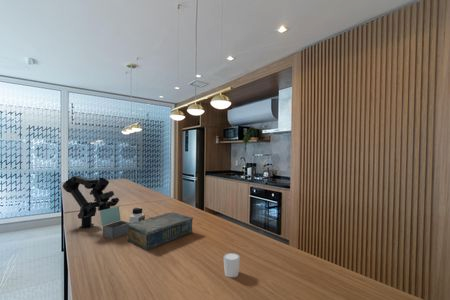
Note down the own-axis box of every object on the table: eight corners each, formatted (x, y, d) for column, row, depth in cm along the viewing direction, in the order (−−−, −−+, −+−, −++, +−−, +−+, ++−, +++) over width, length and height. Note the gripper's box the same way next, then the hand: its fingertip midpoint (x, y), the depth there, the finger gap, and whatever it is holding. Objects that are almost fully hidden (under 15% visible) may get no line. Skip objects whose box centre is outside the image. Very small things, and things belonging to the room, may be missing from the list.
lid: (102, 225, 128) (101, 225, 128) (120, 220, 139) (119, 220, 139) (100, 210, 129) (99, 210, 129) (118, 206, 140) (117, 206, 140)
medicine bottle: (138, 228, 143) (139, 209, 143) (129, 227, 144) (129, 209, 144) (144, 224, 150) (145, 207, 150) (135, 223, 151) (135, 206, 151)
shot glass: (222, 269, 92) (222, 252, 92) (238, 268, 93) (238, 252, 93) (224, 278, 86) (224, 260, 86) (241, 277, 86) (241, 260, 86)
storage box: (102, 236, 128) (103, 226, 128) (120, 230, 138) (120, 220, 139) (112, 239, 124) (113, 228, 124) (130, 232, 134) (130, 222, 135)
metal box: (193, 233, 134) (194, 217, 135) (147, 252, 109) (147, 232, 109) (172, 226, 147) (172, 211, 148) (125, 241, 122) (126, 223, 122)
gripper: (90, 189, 129) (101, 210, 124) (117, 185, 145) (128, 203, 140) (81, 201, 132) (92, 222, 127) (109, 196, 149) (120, 214, 144)
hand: (109, 214), depth 134 cm, fingers closed, pressing on lid
